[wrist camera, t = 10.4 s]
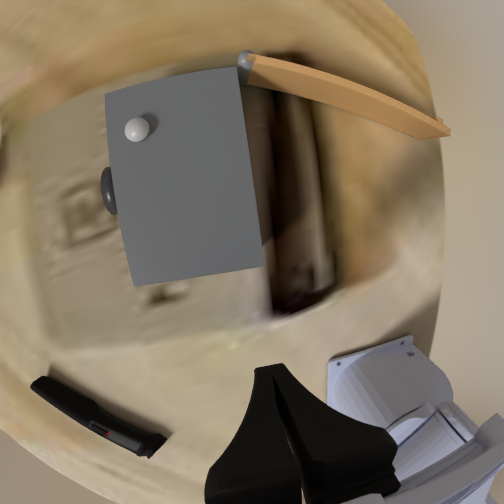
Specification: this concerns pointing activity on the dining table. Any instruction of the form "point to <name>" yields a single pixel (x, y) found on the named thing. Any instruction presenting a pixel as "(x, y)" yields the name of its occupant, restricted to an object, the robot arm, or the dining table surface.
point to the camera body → (182, 177)
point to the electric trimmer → (97, 418)
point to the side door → (336, 94)
